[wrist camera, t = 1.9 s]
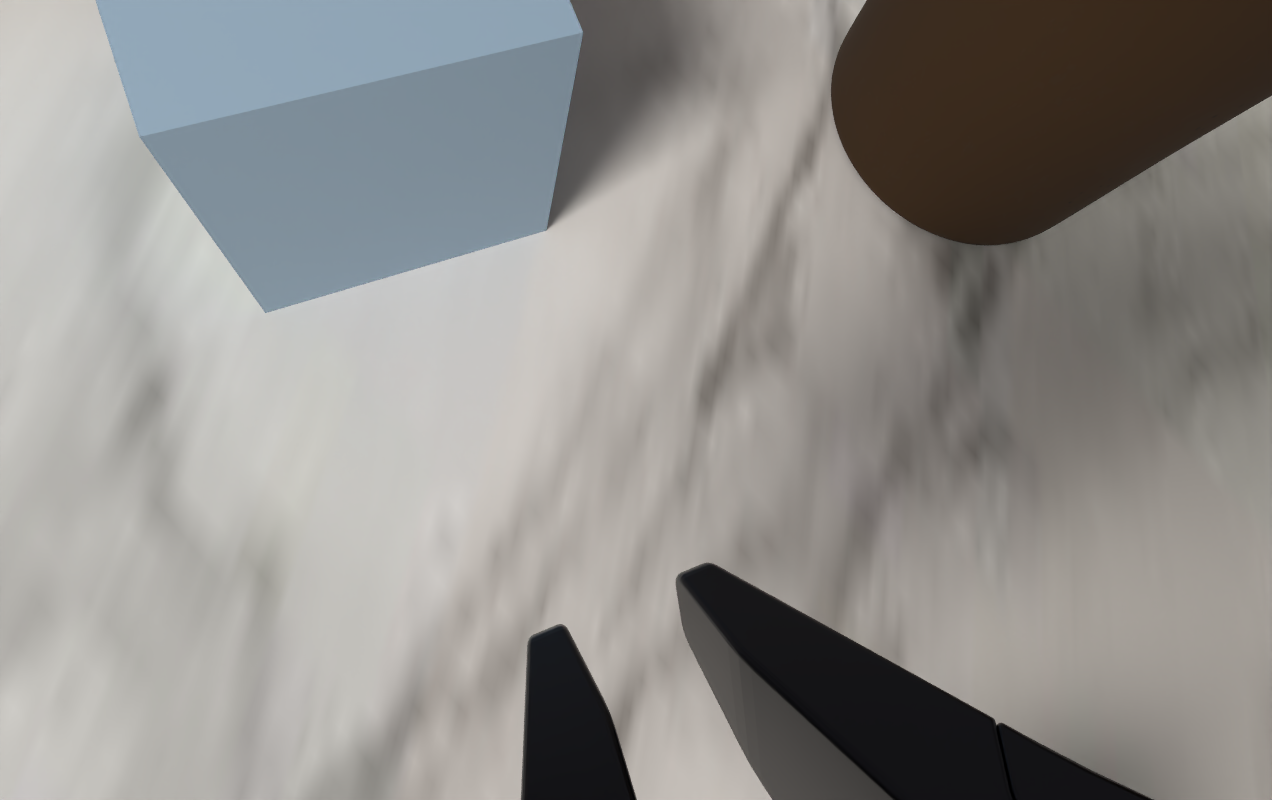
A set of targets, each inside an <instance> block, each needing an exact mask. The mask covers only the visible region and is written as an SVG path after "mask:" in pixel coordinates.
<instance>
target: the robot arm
mask: <svg viewBox="0 0 1272 800" xmlns="http://www.w3.org/2000/svg"><path fill="white" fill-rule="evenodd" d="M676 590H677V596H678V602H679V609H680V615H681V621H682V626H683V630H684V633H685V636H686V639H687V641H688V643H689V645H690V647H691V649H692V651H693V653H694V655H695V657H696V659H697V661H698V663H699V665H700V667H701V669H702V671H703V673H704V675H705V677H706V679H707V681H708V683H709V685H710V687H711V689H712V691H713V693H714V695H715V697H716V699H717V701H718V703H719V705H720V707H721V709H722V711H723V713H724V715H725V717H726V719H727V721H728V723H729V725H730V727H731V729H732V731H733V733H734V735H735V737H736V739H737V741H738V743H739V745H740V747H741V748H742V750H743V752H744V754H745V756H746V758H747V760H748V762H749V763H750V765H751V767H752V768H753V770H754V772H755V773H756V775H757V776H758V778H759V780H760V781H761V783H762V784H763V786H764V788H765V789H766V791H767V792H768V794H769V795H770V797H771V798H772V800H1153V799H1151V798H1149V797H1147V796H1145V795H1142V794H1140V793H1138V792H1136V791H1134V790H1132V789H1130V788H1128V787H1125V786H1123V785H1121V784H1119V783H1117V782H1115V781H1113V780H1110V779H1108V778H1106V777H1104V776H1102V775H1100V774H1098V773H1096V772H1093V771H1091V770H1090V769H1088V768H1086V767H1084V766H1082V765H1080V764H1078V763H1076V762H1074V761H1072V760H1070V759H1068V758H1067V757H1065V756H1063V755H1061V754H1059V753H1057V752H1055V751H1053V750H1051V749H1049V748H1047V747H1046V746H1044V745H1042V744H1040V743H1038V742H1036V741H1034V740H1032V739H1031V738H1029V737H1027V736H1025V735H1023V734H1022V733H1020V732H1018V731H1016V730H1014V729H1013V728H1011V727H1009V726H1007V725H1005V724H1003V723H998V724H997V726H996V722H995V720H994V719H993V718H992V717H990V716H988V715H987V714H985V713H983V712H981V711H979V710H978V709H976V708H974V707H972V706H970V705H969V704H967V703H965V702H963V701H961V700H959V699H958V698H956V697H954V696H952V695H950V694H949V693H947V692H945V691H943V690H941V689H940V688H938V687H936V686H934V685H932V684H931V683H929V682H927V681H925V680H923V679H921V678H920V677H918V676H916V675H914V674H912V673H911V672H909V671H907V670H905V669H903V668H902V667H900V666H898V665H896V664H894V663H893V662H891V661H889V660H887V659H885V658H883V657H882V656H880V655H878V654H876V653H874V652H873V651H871V650H869V649H867V648H865V647H864V646H862V645H860V644H858V643H856V642H854V641H853V640H851V639H849V638H847V637H845V636H844V635H842V634H840V633H838V632H836V631H835V630H833V629H831V628H829V627H827V626H826V625H824V624H822V623H820V622H818V621H816V620H815V619H813V618H811V617H809V616H807V615H806V614H804V613H802V612H800V611H798V610H797V609H795V608H793V607H791V606H789V605H788V604H786V603H784V602H782V601H780V600H778V599H777V598H775V597H773V596H771V595H769V594H768V593H766V592H764V591H762V590H760V589H759V588H757V587H755V586H753V585H751V584H749V583H748V582H746V581H744V580H742V579H740V578H739V577H737V576H735V575H733V574H731V573H730V572H728V571H726V570H724V569H722V568H721V567H719V566H717V565H715V564H712V563H704V564H701V565H698V566H696V567H694V568H691V569H689V570H687V571H684V572H682V573H680V574H679V575H678V576H677V578H676ZM521 800H637V799H636V795H635V792H634V789H633V785H632V782H631V779H630V775H629V772H628V768H627V765H626V762H625V758H624V755H623V752H622V748H621V745H620V741H619V738H618V735H617V731H616V728H615V725H614V723H613V720H612V717H611V714H610V712H609V710H608V707H607V705H606V703H605V701H604V699H603V697H602V695H601V693H600V691H599V689H598V687H597V685H596V683H595V681H594V679H593V677H592V675H591V673H590V671H589V669H588V667H587V665H586V664H585V662H584V660H583V658H582V656H581V654H580V652H579V650H578V648H577V646H576V644H575V642H574V640H573V638H572V636H571V634H570V632H569V631H568V629H567V627H566V626H564V625H562V624H559V625H556V626H553V627H551V628H548V629H546V630H544V631H541V632H539V633H537V634H534V635H532V636H531V637H530V638H529V641H528V645H527V668H526V692H525V717H524V741H523V766H522V790H521Z"/></svg>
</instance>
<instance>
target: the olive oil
mask: <svg viewBox="0 0 1272 800" xmlns="http://www.w3.org/2000/svg"><path fill="white" fill-rule="evenodd" d="M1270 96H1272V0H867V1H866V3H865V4H864V6H863V8H862V9H861V11H860V13H859V14H858V16H857V18H856V19H855V21H854V23H853V24H852V26H851V28H850V30H849V31H848V33H847V35H846V37H845V39H844V41H843V43H842V45H841V47H840V50H839V52H838V55H837V58H836V62H835V65H834V70H833V75H832V84H831V100H832V109H833V115H834V120H835V124H836V128H837V131H838V134H839V137H840V140H841V142H842V145H843V147H844V149H845V151H846V153H847V155H848V157H849V159H850V161H851V163H852V164H853V166H854V167H855V169H856V171H857V172H858V173H859V175H860V176H861V178H862V179H863V180H864V182H865V183H866V184H867V185H868V186H869V188H870V189H871V190H872V191H873V192H874V193H875V194H876V195H877V196H878V197H879V198H880V199H881V200H882V201H883V202H884V203H885V204H886V205H888V206H889V207H890V208H891V209H892V210H894V211H895V212H896V213H898V214H899V215H900V216H902V217H903V218H905V219H906V220H908V221H909V222H911V223H913V224H914V225H916V226H918V227H920V228H922V229H924V230H926V231H928V232H930V233H933V234H935V235H938V236H940V237H943V238H946V239H950V240H953V241H958V242H962V243H968V244H976V245H1000V244H1008V243H1013V242H1017V241H1021V240H1024V239H1027V238H1030V237H1033V236H1035V235H1037V234H1040V233H1042V232H1044V231H1045V230H1047V229H1049V228H1051V227H1053V226H1054V225H1056V224H1058V223H1060V222H1061V221H1063V220H1065V219H1066V218H1068V217H1069V216H1071V215H1073V214H1074V213H1076V212H1078V211H1079V210H1081V209H1083V208H1084V207H1086V206H1087V205H1089V204H1091V203H1092V202H1094V201H1096V200H1097V199H1099V198H1100V197H1102V196H1104V195H1105V194H1107V193H1109V192H1110V191H1112V190H1114V189H1115V188H1117V187H1118V186H1120V185H1122V184H1123V183H1125V182H1127V181H1128V180H1130V179H1131V178H1133V177H1135V176H1136V175H1138V174H1140V173H1141V172H1143V171H1145V170H1146V169H1148V168H1149V167H1151V166H1153V165H1154V164H1156V163H1158V162H1159V161H1161V160H1163V159H1164V158H1166V157H1168V156H1169V155H1171V154H1173V153H1174V152H1176V151H1178V150H1179V149H1181V148H1183V147H1184V146H1186V145H1188V144H1189V143H1191V142H1193V141H1195V140H1196V139H1198V138H1200V137H1201V136H1203V135H1205V134H1207V133H1208V132H1210V131H1212V130H1213V129H1215V128H1217V127H1219V126H1220V125H1222V124H1224V123H1225V122H1227V121H1229V120H1231V119H1232V118H1234V117H1236V116H1237V115H1239V114H1241V113H1242V112H1244V111H1246V110H1248V109H1249V108H1251V107H1253V106H1254V105H1256V104H1258V103H1260V102H1261V101H1263V100H1265V99H1266V98H1268V97H1270Z"/></svg>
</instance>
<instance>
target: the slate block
mask: <svg viewBox="0 0 1272 800" xmlns="http://www.w3.org/2000/svg"><path fill="white" fill-rule="evenodd" d="M96 3H97V6H98V10H99V13H100V16H101V19H102V22H103V25H104V28H105V31H106V34H107V37H108V41H109V44H110V47H111V50H112V53H113V56H114V59H115V62H116V65H117V68H118V72H119V75H120V78H121V81H122V84H123V87H124V90H125V93H126V96H127V99H128V103H129V106H130V109H131V112H132V115H133V118H134V121H135V124H136V127H137V131H138V134H139V137H140V138H141V140H142V141H143V142H144V144H145V145H146V147H147V148H148V149H149V151H150V152H151V154H152V155H153V156H154V158H155V159H156V161H157V162H158V163H159V165H160V166H161V168H162V169H163V170H164V172H165V173H166V175H167V176H168V177H169V179H170V180H171V182H172V183H173V184H174V186H175V187H176V189H177V190H178V191H179V193H180V194H181V196H182V197H183V198H184V200H185V201H186V203H187V204H188V205H189V207H190V208H191V210H192V211H193V212H194V214H195V215H196V216H197V218H198V219H199V221H200V222H201V223H202V225H203V226H204V228H205V229H206V230H207V232H208V233H209V235H210V236H211V237H212V239H213V240H214V242H215V243H216V244H217V246H218V247H219V249H220V250H221V251H222V253H223V254H224V256H225V257H226V258H227V260H228V261H229V263H230V264H231V265H232V267H233V268H234V270H235V271H236V272H237V274H238V275H239V277H240V278H241V279H242V281H243V282H244V284H245V285H246V286H247V288H248V289H249V291H250V292H251V293H252V295H253V296H254V298H255V299H256V300H257V302H258V303H259V305H260V306H261V307H262V309H263V310H264V312H265V313H267V312H270V311H274V310H277V309H281V308H284V307H287V306H291V305H294V304H298V303H301V302H304V301H308V300H311V299H315V298H318V297H321V296H325V295H328V294H332V293H335V292H338V291H342V290H345V289H349V288H352V287H355V286H359V285H362V284H366V283H369V282H372V281H376V280H379V279H383V278H386V277H389V276H393V275H396V274H400V273H403V272H406V271H410V270H413V269H417V268H420V267H423V266H427V265H430V264H434V263H437V262H440V261H444V260H447V259H451V258H454V257H457V256H461V255H464V254H468V253H471V252H474V251H478V250H481V249H485V248H488V247H491V246H495V245H498V244H502V243H505V242H508V241H512V240H515V239H519V238H522V237H525V236H529V235H532V234H536V233H539V232H542V231H546V230H547V225H548V219H549V214H550V209H551V203H552V198H553V192H554V187H555V182H556V176H557V171H558V166H559V160H560V155H561V149H562V144H563V139H564V133H565V128H566V122H567V117H568V112H569V106H570V101H571V96H572V90H573V85H574V79H575V74H576V69H577V63H578V58H579V53H580V47H581V42H582V36H583V31H582V28H581V26H580V24H579V21H578V19H577V16H576V14H575V12H574V9H573V7H572V5H571V2H570V0H96Z"/></svg>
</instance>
